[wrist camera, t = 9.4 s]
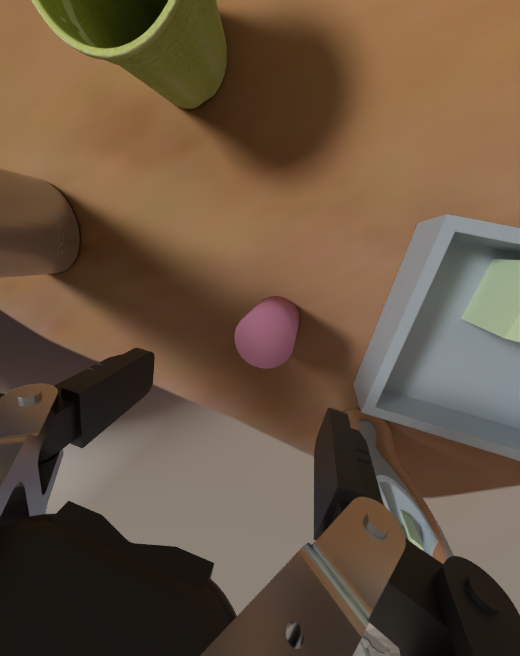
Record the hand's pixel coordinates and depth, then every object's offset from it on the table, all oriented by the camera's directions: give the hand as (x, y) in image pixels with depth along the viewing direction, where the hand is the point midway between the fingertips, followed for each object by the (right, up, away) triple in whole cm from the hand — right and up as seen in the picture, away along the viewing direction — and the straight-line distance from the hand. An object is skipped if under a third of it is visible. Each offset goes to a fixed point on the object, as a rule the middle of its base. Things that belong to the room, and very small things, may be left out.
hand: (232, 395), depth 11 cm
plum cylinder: (+3, +4, +12) cm, 13 cm away
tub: (+19, +2, +9) cm, 21 cm away
